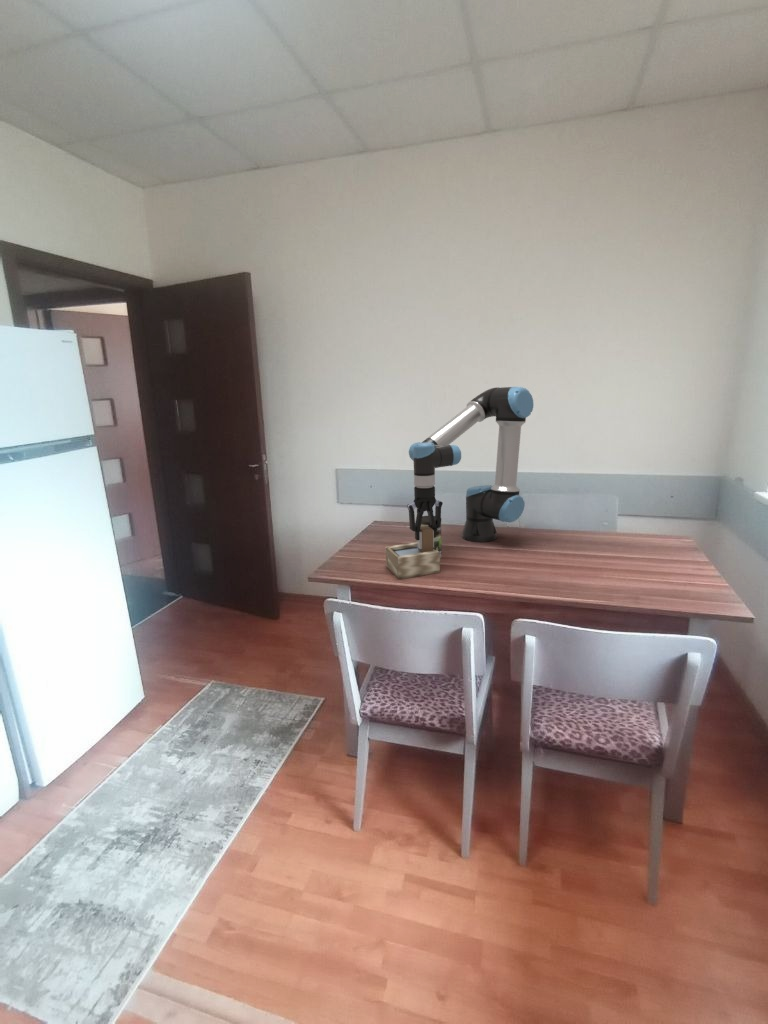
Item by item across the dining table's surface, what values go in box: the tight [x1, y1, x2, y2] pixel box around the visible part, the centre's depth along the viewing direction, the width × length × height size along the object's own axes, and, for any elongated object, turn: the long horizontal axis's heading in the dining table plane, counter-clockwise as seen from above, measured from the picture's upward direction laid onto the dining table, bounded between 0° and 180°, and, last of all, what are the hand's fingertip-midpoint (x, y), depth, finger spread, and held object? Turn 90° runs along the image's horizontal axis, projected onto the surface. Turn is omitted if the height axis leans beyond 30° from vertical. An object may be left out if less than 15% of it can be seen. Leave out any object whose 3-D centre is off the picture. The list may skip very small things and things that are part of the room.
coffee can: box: [421, 515, 443, 554], centre depth 198 cm, size 10×10×14 cm
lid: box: [394, 526, 442, 558], centre depth 179 cm, size 14×12×10 cm
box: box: [385, 541, 441, 580], centre depth 179 cm, size 16×14×8 cm
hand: (425, 547), depth 180 cm, fingers closed on lid, 4 cm apart
